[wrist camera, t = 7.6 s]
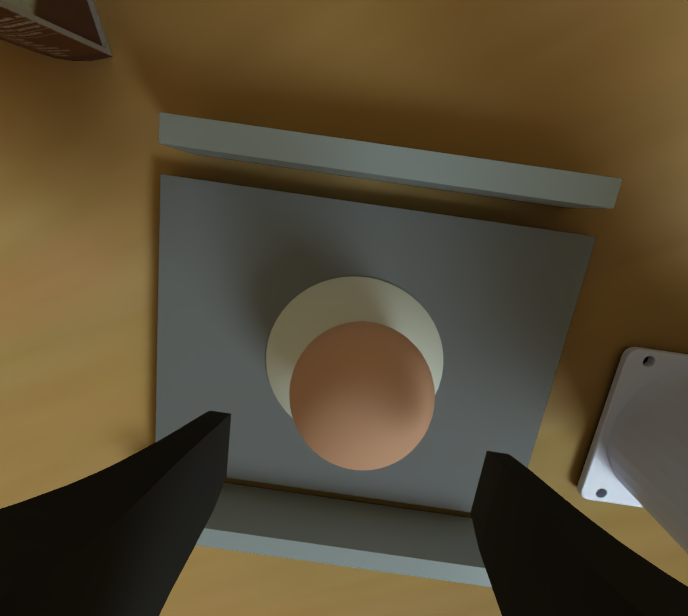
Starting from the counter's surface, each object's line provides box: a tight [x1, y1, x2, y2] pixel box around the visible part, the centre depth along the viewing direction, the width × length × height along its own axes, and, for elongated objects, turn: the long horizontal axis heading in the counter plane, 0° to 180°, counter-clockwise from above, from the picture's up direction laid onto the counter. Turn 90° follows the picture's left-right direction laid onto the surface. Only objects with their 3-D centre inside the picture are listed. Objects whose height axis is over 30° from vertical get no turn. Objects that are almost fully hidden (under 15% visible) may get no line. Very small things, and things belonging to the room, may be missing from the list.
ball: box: [289, 321, 435, 470], centre depth 15 cm, size 6×6×6 cm
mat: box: [155, 174, 596, 512], centre depth 18 cm, size 18×14×1 cm
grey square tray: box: [159, 112, 622, 587], centre depth 17 cm, size 16×18×3 cm
